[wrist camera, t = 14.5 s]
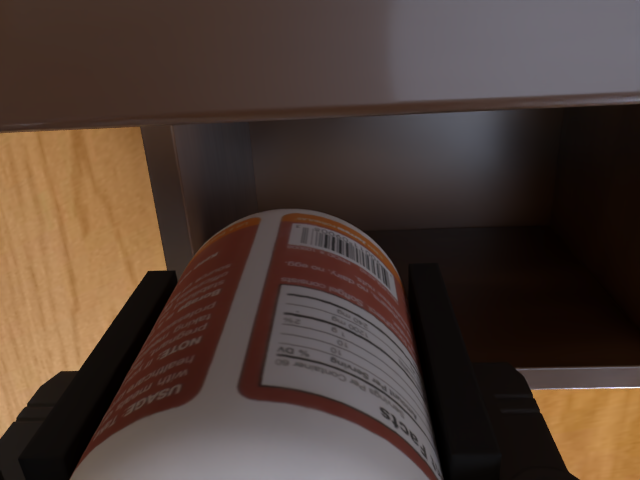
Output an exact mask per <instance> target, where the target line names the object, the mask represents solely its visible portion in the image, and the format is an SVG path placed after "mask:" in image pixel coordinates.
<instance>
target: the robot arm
mask: <svg viewBox="0 0 640 480" xmlns="http://www.w3.org/2000/svg"><path fill="white" fill-rule="evenodd" d="M177 283H178V281H177V275H176V270H172V271H148V272H147V274H146V275H145V276H144V278H143V279H142V281H141V282H140V284H139V285H138V286H137V288H136V289H135V291H134V292H133V294H132V295H131V296H130V298H129V299H128V301H127V302H126V304H125V305H124V307H123V308H122V309H121V311H120V312H119V314H118V315H117V317H116V318H115V319H114V321H113V322H112V324H111V325H110V327H109V328H108V330H107V331H106V332H105V334H104V335H103V337H102V338H101V340H100V341H99V342H98V344H97V345H96V347H95V348H94V350H93V351H92V352H91V354H90V355H89V357H88V358H87V360H86V361H85V363H84V364H83V365H82V367H81V368H80V370H79V371H61V372H59V373H58V374H57V375H55V376H54V377H53V378H51V379H50V380H49V381H47V382H46V383H45V384H43V385H42V386H41V387H40V388H39V389H38V390H37V392H36V393H35V394H34V396H33V397H32V398H31V400H30V401H29V402H28V404H27V407H24V409H23V410H22V411H21V413H20V414H19V415H18V417H17V418H16V419H17V420H16V422H13V423H12V424H11V426H10V427H9V428H8V430H7V431H6V432H5V434H4V435H3V436H2V437H1V439H0V480H70V478H71V476H72V473H73V472H74V470H75V468H76V466H77V464H78V463H79V461H80V459H81V457H82V455H83V453H84V451H85V450H86V448H87V446H88V444H89V442H90V441H91V439H92V437H93V435H94V433H95V432H96V430H97V428H98V427H99V425H100V423H101V421H102V419H103V417H104V415H105V414H106V412H107V410H108V409H109V407H110V405H111V403H112V401H113V399H114V398H115V396H116V394H117V392H118V391H119V389H120V387H121V385H122V383H123V381H124V379H125V377H126V375H127V373H128V372H129V370H130V369H131V366H132V364H133V363H134V361H135V360H136V358H137V356H138V354H139V352H140V350H141V348H142V347H143V345H144V343H145V341H146V340H147V338H148V336H149V334H150V333H151V331H152V329H153V327H154V325H155V323H156V321H157V319H158V318H159V316H160V314H161V312H162V310H163V309H164V307H165V305H166V303H167V301H168V300H169V298H170V296H171V294H172V292H173V291H174V289H175V287H176V285H177ZM408 304H409V309H410V314H411V319H412V324H413V329H414V334H415V339H416V344H417V349H418V354H419V359H420V364H421V368H422V372H423V378H424V383H425V388H426V393H427V398H428V403H429V408H430V413H431V418H432V424H433V428H434V433H435V439H436V444H437V449H438V453H439V458H440V462H441V467H442V471H443V477H444V480H579V479H578V478H576V477H575V476H573V475H572V474H570V473H569V471H568V470H567V468H566V466H565V464H564V461H563V459H562V457H561V455H560V453H559V451H558V448H557V446H556V444H555V442H554V440H553V438H552V435H551V433H550V431H549V429H548V427H547V425H546V422H545V420H544V418H543V416H542V414H541V413H540V409H539V407H538V405H537V403H536V401H535V398H533V394H532V392H531V390H530V388H529V385H528V383H527V381H526V379H525V377H524V376H523V375H522V374H521V373H520V372H519V371H517V370H516V369H515V368H514V367H513V366H512V365H511V364H510V363H509V362H471V361H470V358H469V355H468V352H467V349H466V346H465V343H464V340H463V337H462V334H461V331H460V328H459V325H458V322H457V319H456V316H455V313H454V310H453V307H452V304H451V301H450V298H449V295H448V292H447V289H446V286H445V283H444V280H443V277H442V274H441V271H440V268H439V265H438V263H413V264H409V266H408Z"/></svg>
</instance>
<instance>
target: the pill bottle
mask: <svg viewBox="0 0 640 480" xmlns="http://www.w3.org/2000/svg"><path fill="white" fill-rule="evenodd" d="M70 480H444V477H443V471H442V467H441V462H440V458H439V453H438V449H437V444H436V439H435V433H434V428H433V424H432V418H431V413H430V408H429V403H428V398H427V393H426V388H425V383H424V378H423V372H422V368H421V364H420V359H419V354H418V349H417V344H416V339H415V334H414V329H413V324H412V319H411V314H410V309H409V304H408V300H407V296H406V292H405V289H404V286H403V283H402V280H401V278H400V276H399V274H398V272H397V270H396V268H395V266H394V264H393V263H392V261H391V260H390V258H389V257H388V256H387V255H386V253H385V252H384V251H383V250H382V248H381V247H380V246H379V245H378V244H377V243H376V242H375V241H374V240H373V239H371V238H370V237H369V236H368V235H367V234H365V233H364V232H363V231H361V230H360V229H358V228H356V227H355V226H353V225H351V224H349V223H347V222H346V221H344V220H341V219H339V218H337V217H334V216H331V215H328V214H325V213H322V212H318V211H313V210H305V209H276V210H268V211H264V212H259V213H256V214H252V215H249V216H247V217H244V218H242V219H239V220H237V221H235V222H233V223H231V224H230V225H228V226H227V227H225V228H223V229H222V230H220V231H219V232H217V233H216V234H215V235H214V236H212V237H211V238H210V239H209V240H208V241H207V242H205V243H204V245H203V246H202V247H201V248H200V249H199V250H198V251H197V253H196V254H195V255H194V257H193V258H192V260H191V261H190V262H189V264H188V266H187V267H186V269H185V270H184V272H183V274H182V276H181V278H180V279H179V281H178V283H177V285H176V287H175V289H174V291H173V292H172V294H171V296H170V298H169V300H168V301H167V303H166V305H165V307H164V309H163V310H162V312H161V314H160V316H159V318H158V319H157V321H156V323H155V325H154V327H153V329H152V331H151V333H150V334H149V336H148V338H147V340H146V341H145V343H144V345H143V347H142V348H141V350H140V352H139V354H138V356H137V358H136V360H135V361H134V363H133V364H132V366H131V369H130V370H129V372H128V373H127V375H126V377H125V379H124V381H123V383H122V385H121V387H120V389H119V391H118V392H117V394H116V396H115V398H114V399H113V401H112V403H111V405H110V407H109V409H108V410H107V412H106V414H105V415H104V417H103V419H102V421H101V423H100V425H99V427H98V428H97V430H96V432H95V433H94V435H93V437H92V439H91V441H90V442H89V444H88V446H87V448H86V450H85V451H84V453H83V455H82V457H81V459H80V461H79V463H78V464H77V466H76V468H75V470H74V472H73V473H72V476H71V478H70Z"/></svg>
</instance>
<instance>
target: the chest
mask: <svg viewBox="0 0 640 480" xmlns="http://www.w3.org/2000/svg"><path fill="white" fill-rule="evenodd" d="M140 128H141V134H142V139H143V144H144V150H145V155H146V160H147V166H148V171H149V176H150V181H151V187H152V192H153V197H154V203H155V208H156V213H157V219H158V224H159V229H160V235H161V240H162V245H163V251H164V256H165V261H166V266H167V271H172V270H176V275H177V281H179V279H180V278H181V276H182V274H183V272H184V270H185V269H186V267H187V266H188V264H189V262H190V261H191V260H192V258H193V257H194V255H195V254H196V253H197V251H198V250H199V249H200V248H201V247H202V246H203V245H204V243H205V242H207V241H208V240H209V239H210V238H211V237H212V236H214V235H215V234H216V233H217V232H219V231H220V230H222V229H223V228H225V227H227V226H228V225H230V224H231V223H233V222H235V221H237V220H239V219H242V218H244V217H247V216H249V215H252V214H256V213H259V212H264V211H268V210H276V209H305V210H313V211H318V212H322V213H325V214H328V215H331V216H334V217H337V218H339V219H341V220H344V221H346V222H347V223H349V224H351V225H353V226H355V227H356V228H358V229H360V230H361V231H363V232H364V233H365V234H367V235H368V236H369V237H370V238H371V239H373V240H374V241H375V242H376V243H377V244H378V245H379V246H380V247H381V248H382V250H383V251H384V252H385V253H386V255H387V256H388V257H389V258H390V260H391V261H392V263H393V264H394V266H395V268H396V270H397V272H398V274H399V276H400V278H401V280H402V283H403V286H404V289H405V292H406V296H407V300H408V266H409V264H413V263H438V265H439V268H440V271H441V274H442V277H443V280H444V283H445V286H446V289H447V292H448V295H449V298H450V301H451V304H452V307H453V310H454V313H455V316H456V319H457V322H458V325H459V328H460V331H461V334H462V337H463V340H464V343H465V346H466V349H467V352H468V355H469V358H470V361H471V362H509V363H510V364H511V365H512V366H513V367H514V368H515V369H516V370H517V371H519V372H520V373H521V374H522V375H523V376H524V377H525V379H526V381H527V383H528V385H529V388H530V390H539V389H603V388H640V104H628V105H606V106H584V107H562V108H540V109H518V110H496V111H474V112H452V113H430V114H408V115H386V116H364V117H341V118H319V119H297V120H275V121H253V122H231V123H209V124H187V125H165V126H143V127H140Z"/></svg>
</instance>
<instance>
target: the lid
mask: <svg viewBox="0 0 640 480" xmlns="http://www.w3.org/2000/svg"><path fill="white" fill-rule="evenodd" d="M628 104H640V0H0V133H10V132H32V131H54V130H76V129H99V128H121V127H143V126H165V125H187V124H209V123H231V122H253V121H275V120H297V119H319V118H341V117H364V116H386V115H408V114H430V113H452V112H474V111H496V110H518V109H540V108H562V107H584V106H606V105H628Z"/></svg>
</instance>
